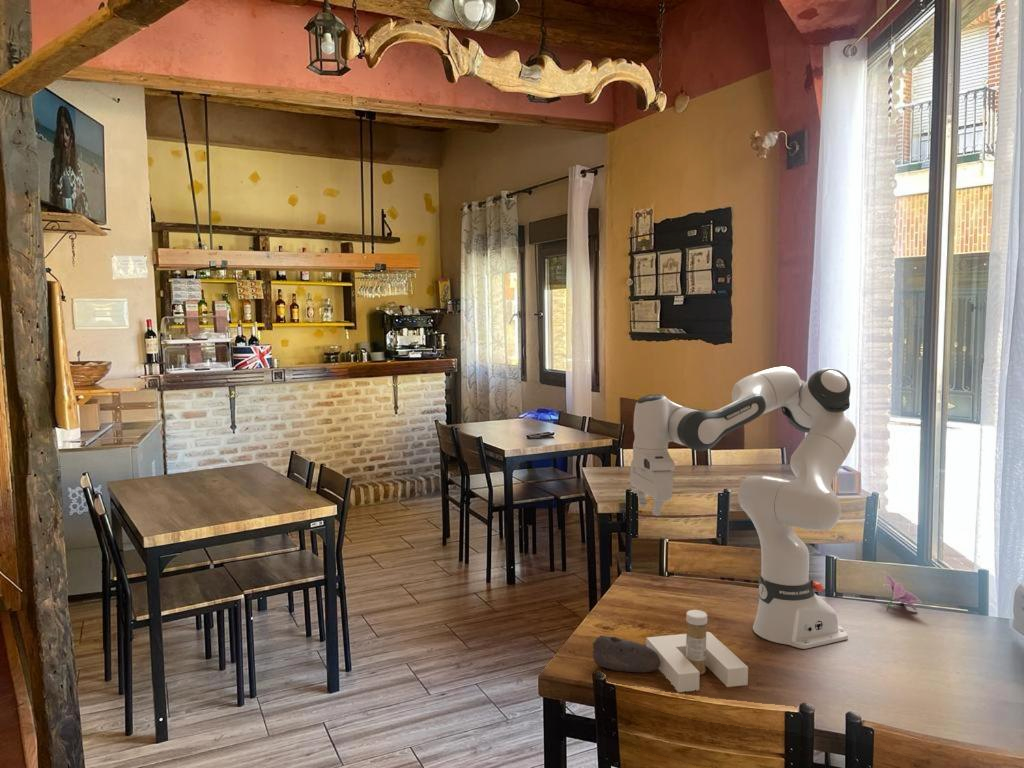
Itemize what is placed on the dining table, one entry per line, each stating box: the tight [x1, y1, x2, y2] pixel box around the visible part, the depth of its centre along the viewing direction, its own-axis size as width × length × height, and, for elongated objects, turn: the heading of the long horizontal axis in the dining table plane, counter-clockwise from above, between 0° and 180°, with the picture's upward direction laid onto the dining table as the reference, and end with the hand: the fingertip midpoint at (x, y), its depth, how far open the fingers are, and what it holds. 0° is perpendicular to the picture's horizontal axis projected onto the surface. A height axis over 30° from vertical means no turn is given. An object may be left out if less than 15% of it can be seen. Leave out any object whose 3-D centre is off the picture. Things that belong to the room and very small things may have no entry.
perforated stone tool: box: [592, 635, 661, 674], centre depth 162 cm, size 15×5×7 cm, turn 72°
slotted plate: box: [645, 631, 749, 693], centre depth 163 cm, size 16×18×4 cm
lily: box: [882, 570, 923, 612], centre depth 196 cm, size 12×12×10 cm
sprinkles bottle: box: [685, 609, 708, 675], centre depth 161 cm, size 5×5×13 cm
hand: (649, 510), depth 188 cm, fingers open, 8 cm apart
